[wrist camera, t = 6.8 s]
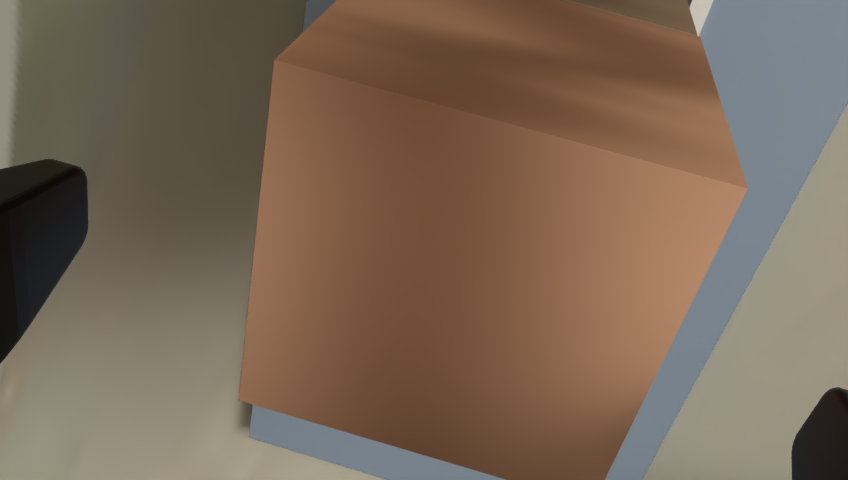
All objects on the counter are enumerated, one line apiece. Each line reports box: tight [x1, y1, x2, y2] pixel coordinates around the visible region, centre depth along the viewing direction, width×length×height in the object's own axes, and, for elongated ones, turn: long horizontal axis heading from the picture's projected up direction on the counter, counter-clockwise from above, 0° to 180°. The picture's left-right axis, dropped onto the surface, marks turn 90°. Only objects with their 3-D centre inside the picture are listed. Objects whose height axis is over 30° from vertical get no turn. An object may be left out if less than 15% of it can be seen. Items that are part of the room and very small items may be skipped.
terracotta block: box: [239, 0, 748, 480], centre depth 12 cm, size 5×5×5 cm
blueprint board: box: [249, 0, 848, 480], centre depth 21 cm, size 12×19×1 cm, turn 168°
